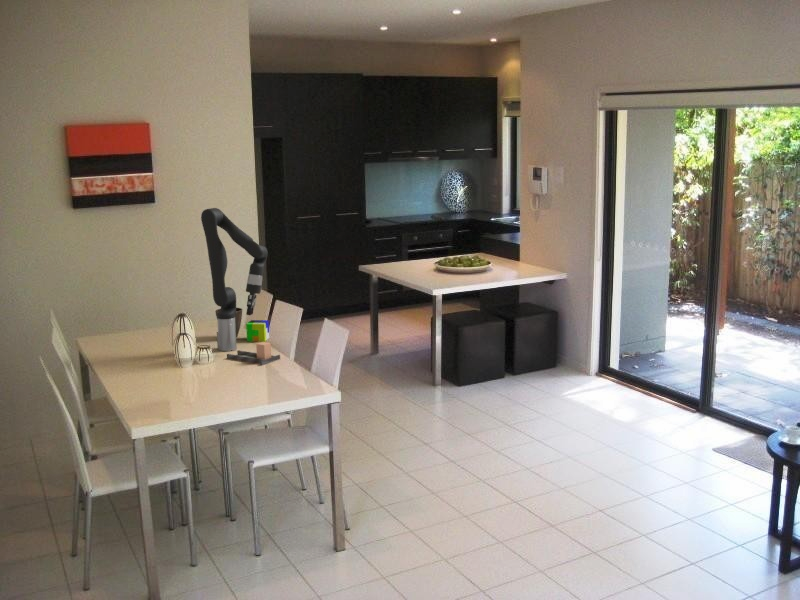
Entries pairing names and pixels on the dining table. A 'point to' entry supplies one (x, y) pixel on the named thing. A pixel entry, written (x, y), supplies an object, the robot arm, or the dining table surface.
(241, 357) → the dark grey flat frame
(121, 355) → the dining table surface
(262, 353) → the terracotta block
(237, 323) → the plant pot
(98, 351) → the dining table surface
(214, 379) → the dining table surface
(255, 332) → the puzzle toy
